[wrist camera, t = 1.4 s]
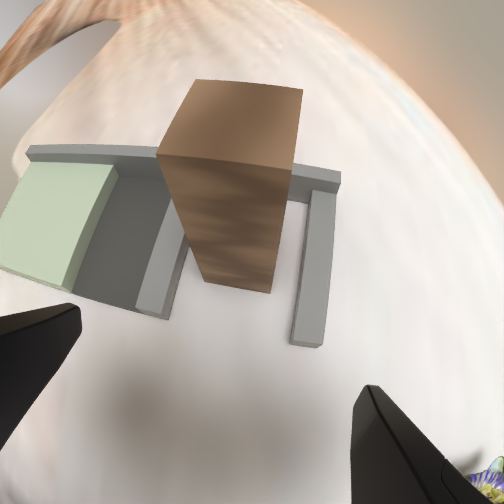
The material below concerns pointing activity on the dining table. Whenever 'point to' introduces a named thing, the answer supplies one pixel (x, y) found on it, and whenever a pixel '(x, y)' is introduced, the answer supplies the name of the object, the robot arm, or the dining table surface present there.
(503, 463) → the passion flower
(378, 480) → the robot arm
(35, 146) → the tray
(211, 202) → the walnut block
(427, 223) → the dining table surface
